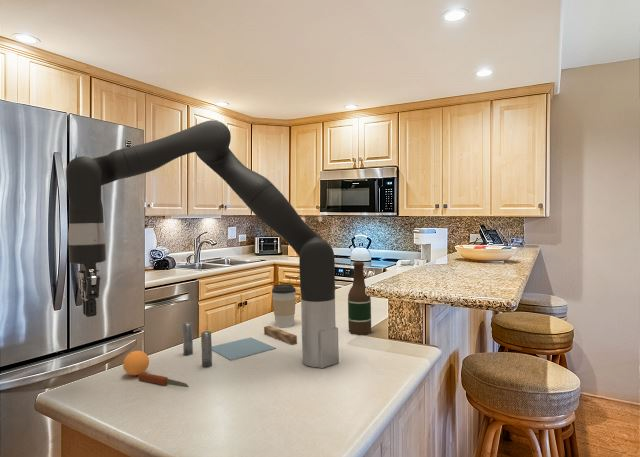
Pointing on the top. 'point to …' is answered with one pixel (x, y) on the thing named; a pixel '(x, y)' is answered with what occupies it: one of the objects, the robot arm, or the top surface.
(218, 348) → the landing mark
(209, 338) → the right post
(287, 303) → the coffee cup
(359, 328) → the beer bottle
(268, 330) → the wall
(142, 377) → the kitchen knife
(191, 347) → the left post
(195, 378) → the top surface
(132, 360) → the ball
